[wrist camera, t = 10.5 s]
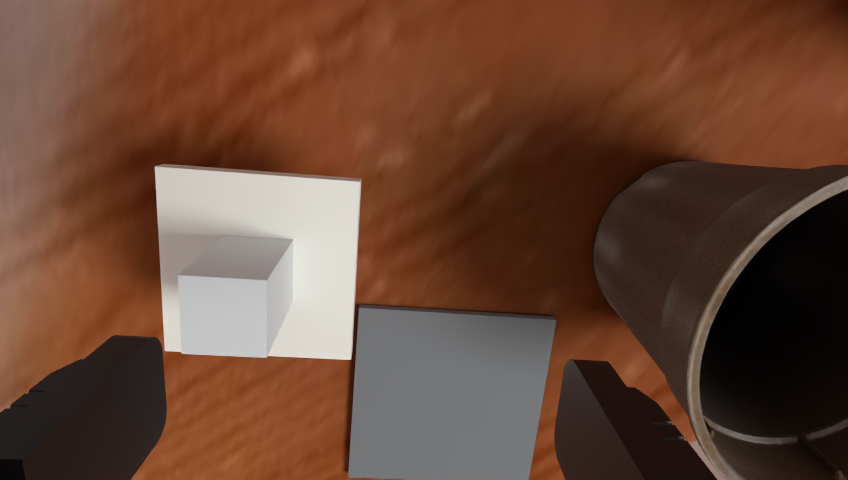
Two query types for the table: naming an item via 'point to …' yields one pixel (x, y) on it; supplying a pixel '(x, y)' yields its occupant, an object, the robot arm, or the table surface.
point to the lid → (257, 261)
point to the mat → (447, 393)
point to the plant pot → (741, 307)
